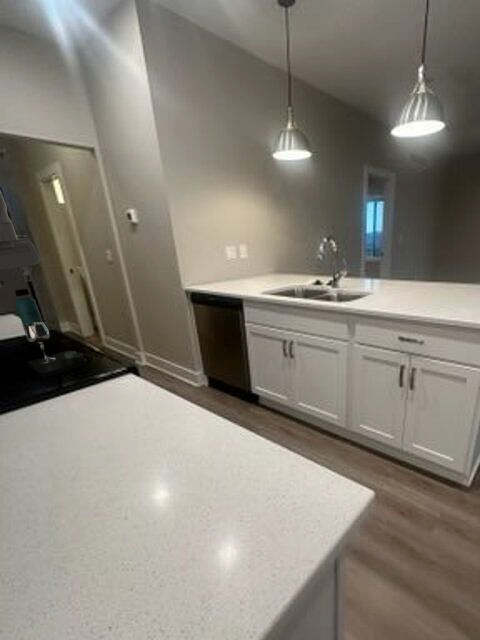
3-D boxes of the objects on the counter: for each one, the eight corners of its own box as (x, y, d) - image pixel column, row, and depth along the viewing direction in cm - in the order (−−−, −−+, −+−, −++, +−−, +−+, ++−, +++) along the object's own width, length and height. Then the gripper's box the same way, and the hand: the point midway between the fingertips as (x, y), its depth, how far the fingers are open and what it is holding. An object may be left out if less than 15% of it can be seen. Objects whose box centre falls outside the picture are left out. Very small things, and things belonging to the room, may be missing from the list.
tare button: (67, 360, 104) (66, 355, 104) (64, 358, 106) (62, 353, 106) (79, 357, 106) (77, 352, 106) (75, 354, 108) (74, 350, 108)
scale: (44, 378, 99) (40, 368, 98) (28, 365, 109) (25, 357, 108) (88, 364, 108) (85, 355, 106) (70, 353, 117) (68, 345, 116)
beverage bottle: (24, 342, 132) (5, 291, 124) (41, 337, 138) (23, 287, 130) (36, 343, 130) (17, 291, 122) (53, 338, 136) (35, 287, 128)
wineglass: (61, 358, 109) (49, 322, 105) (41, 365, 105) (27, 327, 100) (52, 356, 112) (39, 320, 108) (32, 362, 108) (18, 325, 103)
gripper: (19, 234, 108) (34, 278, 113) (-50, 238, 89) (-28, 291, 94) (36, 233, 107) (51, 278, 112) (-29, 236, 88) (-8, 290, 94)
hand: (14, 284), depth 103 cm, fingers open, 8 cm apart
